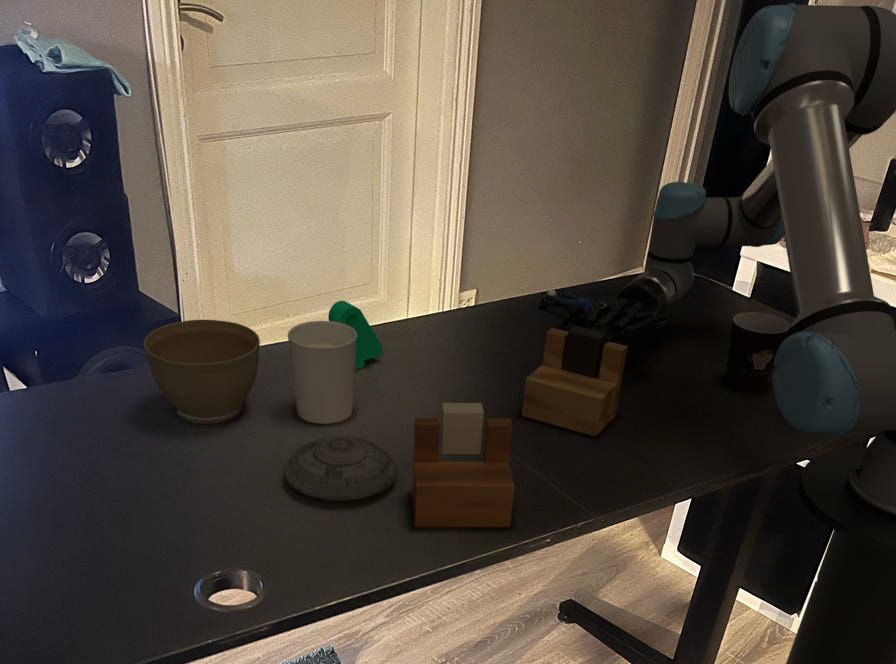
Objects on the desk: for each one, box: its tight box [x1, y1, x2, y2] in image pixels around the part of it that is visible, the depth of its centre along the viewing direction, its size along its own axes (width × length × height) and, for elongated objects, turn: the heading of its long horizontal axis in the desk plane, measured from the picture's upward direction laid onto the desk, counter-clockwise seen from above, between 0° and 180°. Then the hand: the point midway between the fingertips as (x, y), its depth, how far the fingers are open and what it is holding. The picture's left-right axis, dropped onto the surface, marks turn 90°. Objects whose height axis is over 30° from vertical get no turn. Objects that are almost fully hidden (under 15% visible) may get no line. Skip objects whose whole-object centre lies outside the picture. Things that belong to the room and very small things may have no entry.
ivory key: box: [439, 402, 485, 455], centre depth 122 cm, size 3×5×6 cm, turn 93°
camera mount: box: [327, 300, 383, 370], centre depth 156 cm, size 12×8×10 cm, turn 128°
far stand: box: [521, 327, 629, 437], centre depth 143 cm, size 8×12×11 cm, turn 60°
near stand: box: [411, 417, 516, 528], centre depth 121 cm, size 8×12×11 cm, turn 93°
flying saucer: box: [283, 435, 398, 502], centre depth 128 cm, size 15×15×6 cm
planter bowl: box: [143, 319, 261, 425], centre depth 141 cm, size 16×16×11 cm
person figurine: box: [540, 289, 608, 330], centre depth 175 cm, size 11×4×18 cm
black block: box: [563, 325, 607, 378], centre depth 142 cm, size 3×5×6 cm, turn 60°
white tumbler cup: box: [287, 320, 357, 425], centre depth 141 cm, size 10×10×12 cm
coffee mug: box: [724, 311, 791, 393], centre depth 154 cm, size 12×9×10 cm
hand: (588, 349), depth 144 cm, fingers closed
